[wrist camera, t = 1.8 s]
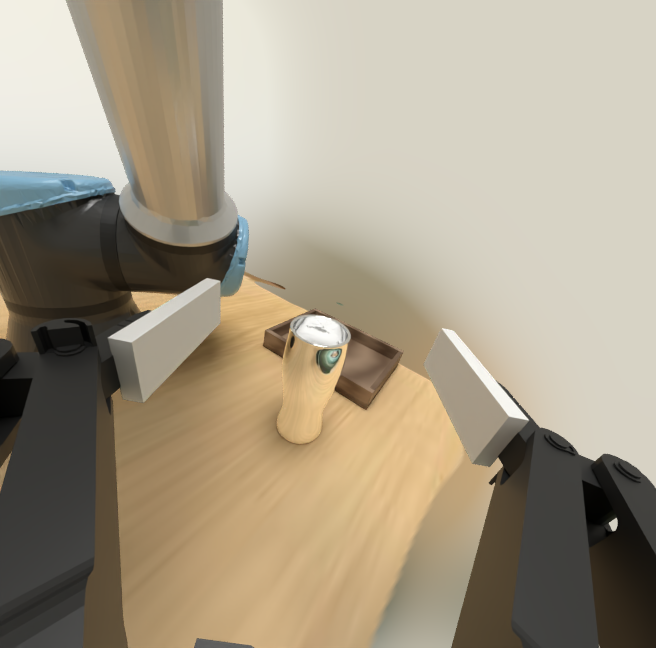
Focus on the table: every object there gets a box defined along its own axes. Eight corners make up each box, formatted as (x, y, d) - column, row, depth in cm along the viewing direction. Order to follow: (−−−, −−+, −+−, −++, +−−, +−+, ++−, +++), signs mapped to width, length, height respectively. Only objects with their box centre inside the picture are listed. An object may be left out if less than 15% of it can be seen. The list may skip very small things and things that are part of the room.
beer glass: (305, 397, 37) (325, 310, 30) (334, 432, 33) (366, 339, 26) (263, 415, 33) (275, 318, 26) (291, 458, 29) (314, 355, 22)
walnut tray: (263, 345, 46) (265, 330, 45) (312, 321, 59) (315, 308, 58) (365, 409, 38) (372, 393, 36) (397, 364, 50) (403, 351, 49)
